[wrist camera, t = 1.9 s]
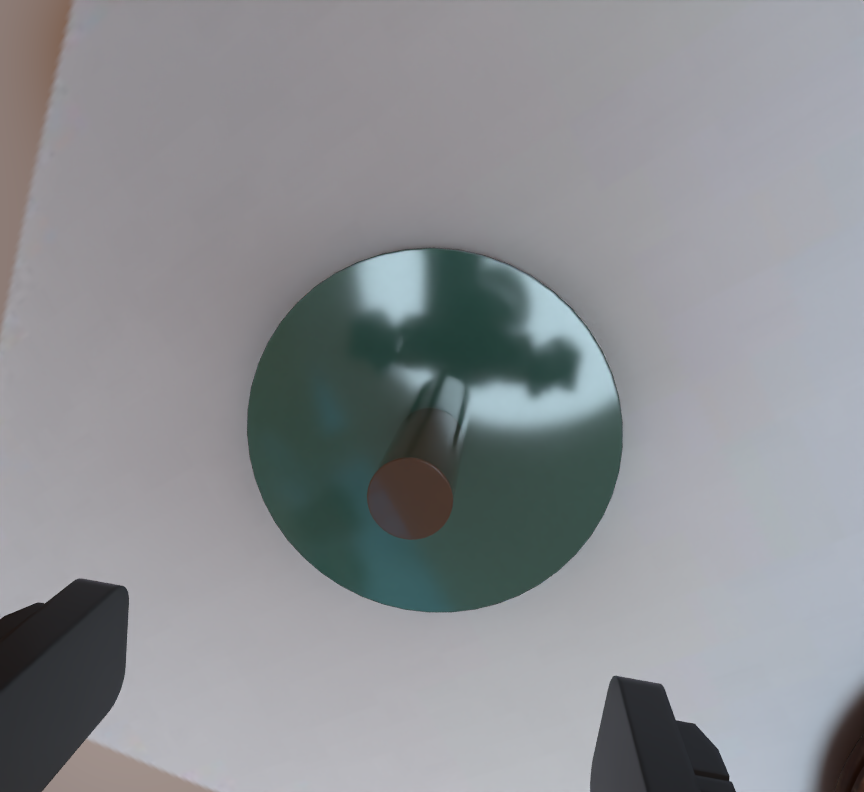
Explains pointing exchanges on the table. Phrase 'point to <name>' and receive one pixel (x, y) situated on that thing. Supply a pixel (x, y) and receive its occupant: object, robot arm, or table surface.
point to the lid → (434, 430)
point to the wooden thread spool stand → (853, 771)
